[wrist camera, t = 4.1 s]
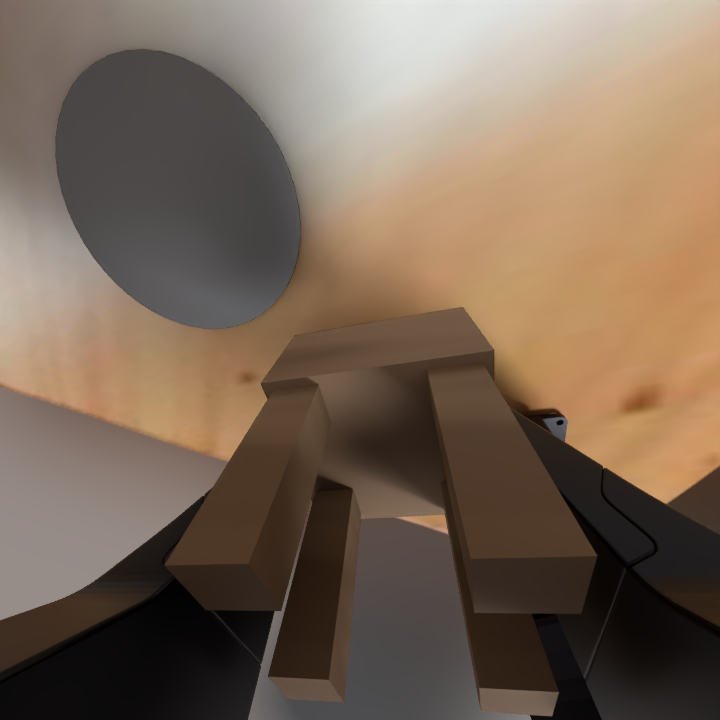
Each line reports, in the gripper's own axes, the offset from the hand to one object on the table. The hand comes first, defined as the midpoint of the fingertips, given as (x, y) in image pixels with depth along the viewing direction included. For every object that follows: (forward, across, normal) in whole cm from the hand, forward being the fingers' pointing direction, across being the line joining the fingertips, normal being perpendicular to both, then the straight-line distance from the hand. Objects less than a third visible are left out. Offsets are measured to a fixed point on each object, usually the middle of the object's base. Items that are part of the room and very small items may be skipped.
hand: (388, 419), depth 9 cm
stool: (+2, 0, 0) cm, 2 cm away
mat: (+11, +11, -8) cm, 17 cm away
